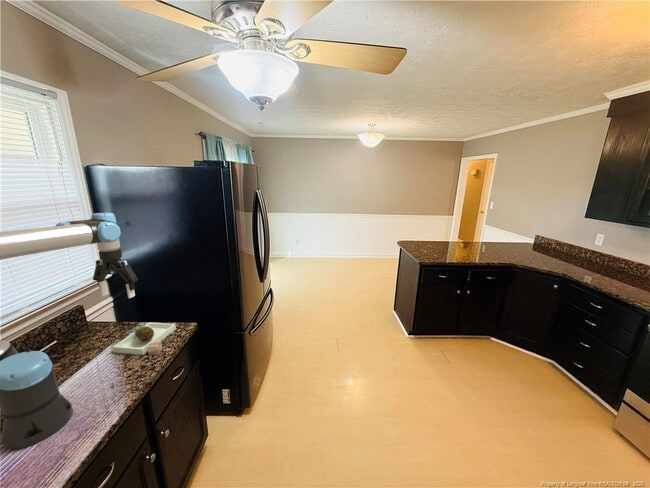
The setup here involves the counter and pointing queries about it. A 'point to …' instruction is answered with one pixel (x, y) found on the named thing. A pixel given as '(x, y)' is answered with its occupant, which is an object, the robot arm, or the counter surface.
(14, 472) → the counter surface
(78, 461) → the counter surface
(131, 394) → the counter surface
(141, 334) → the potato
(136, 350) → the tray
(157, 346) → the beech block
